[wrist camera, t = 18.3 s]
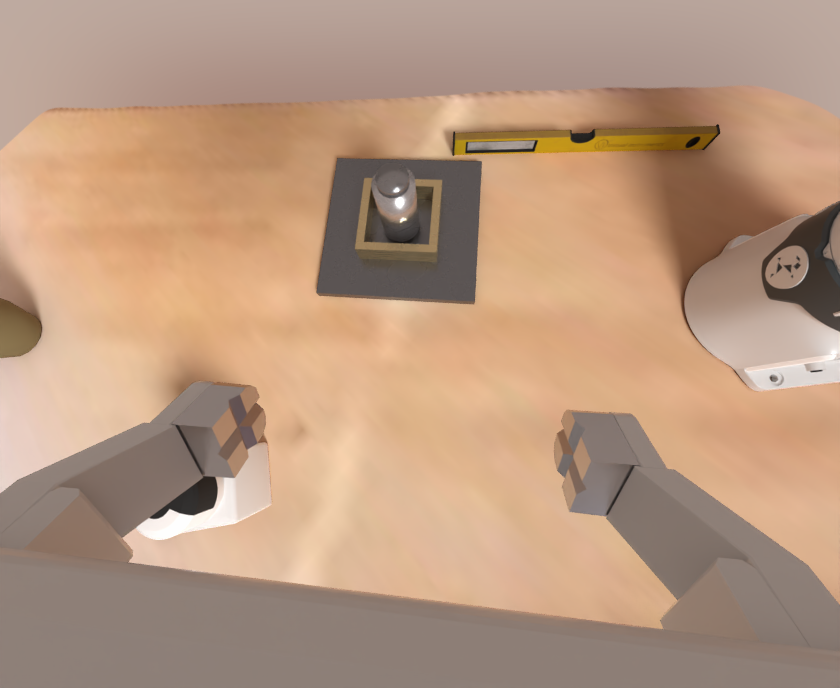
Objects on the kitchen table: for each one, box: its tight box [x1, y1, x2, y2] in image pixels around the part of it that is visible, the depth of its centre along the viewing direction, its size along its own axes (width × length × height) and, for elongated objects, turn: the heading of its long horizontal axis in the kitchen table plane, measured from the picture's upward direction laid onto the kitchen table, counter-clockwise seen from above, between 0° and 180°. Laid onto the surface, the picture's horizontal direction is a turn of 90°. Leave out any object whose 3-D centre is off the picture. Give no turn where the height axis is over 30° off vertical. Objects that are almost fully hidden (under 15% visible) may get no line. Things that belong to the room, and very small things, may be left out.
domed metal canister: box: [371, 162, 420, 242], centre depth 40 cm, size 5×5×9 cm
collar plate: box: [317, 158, 482, 304], centre depth 44 cm, size 20×20×4 cm
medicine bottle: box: [136, 442, 272, 540], centre depth 34 cm, size 7×7×12 cm
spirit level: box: [453, 124, 720, 156], centre depth 45 cm, size 33×1×3 cm, turn 88°
